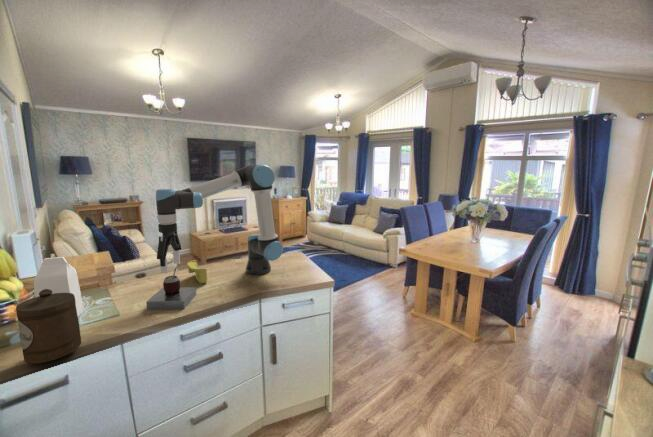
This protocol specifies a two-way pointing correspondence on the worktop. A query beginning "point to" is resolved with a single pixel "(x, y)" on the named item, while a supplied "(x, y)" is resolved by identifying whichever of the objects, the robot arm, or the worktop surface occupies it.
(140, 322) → the worktop surface
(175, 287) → the mate gourd
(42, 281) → the milk
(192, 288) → the stand
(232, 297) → the worktop surface
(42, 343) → the wooden container
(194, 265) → the plastic component
